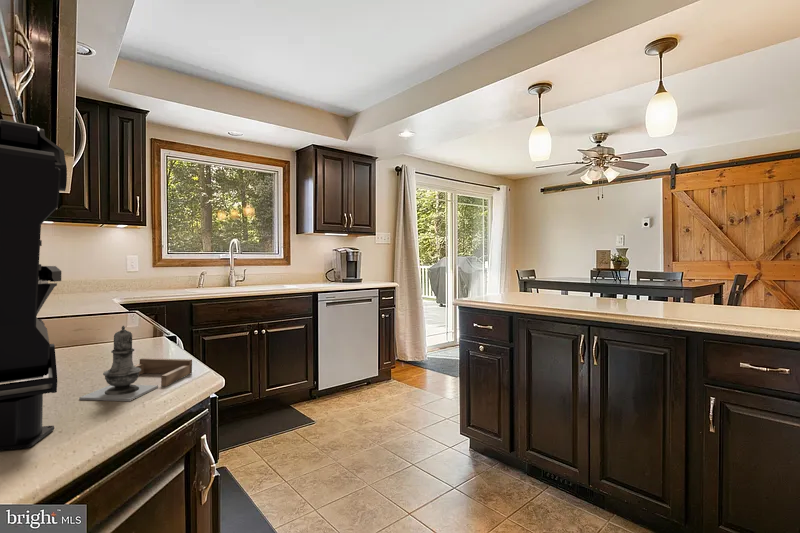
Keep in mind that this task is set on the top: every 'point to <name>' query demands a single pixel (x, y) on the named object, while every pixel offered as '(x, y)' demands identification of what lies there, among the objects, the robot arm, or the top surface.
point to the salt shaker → (122, 366)
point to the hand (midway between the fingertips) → (11, 328)
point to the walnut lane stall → (166, 368)
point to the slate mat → (124, 397)
